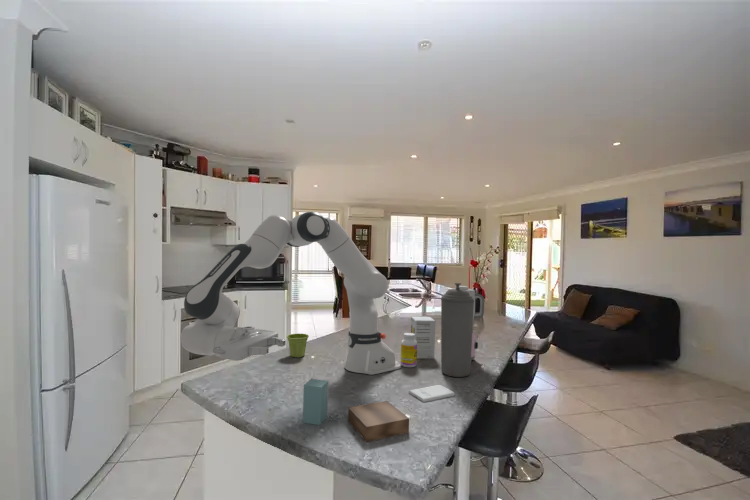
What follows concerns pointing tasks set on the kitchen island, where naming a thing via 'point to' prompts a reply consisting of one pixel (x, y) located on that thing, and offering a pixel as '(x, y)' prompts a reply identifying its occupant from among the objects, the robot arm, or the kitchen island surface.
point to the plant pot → (297, 344)
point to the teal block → (315, 401)
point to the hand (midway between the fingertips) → (276, 347)
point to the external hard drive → (431, 393)
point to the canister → (456, 332)
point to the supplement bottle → (409, 350)
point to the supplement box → (424, 336)
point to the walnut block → (378, 420)
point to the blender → (474, 315)
